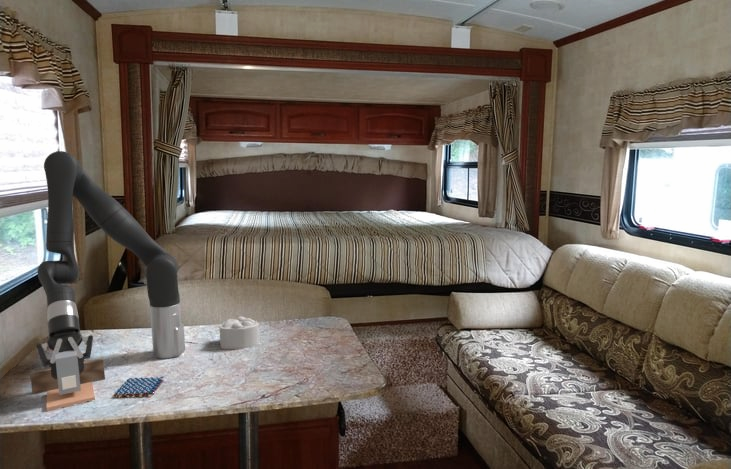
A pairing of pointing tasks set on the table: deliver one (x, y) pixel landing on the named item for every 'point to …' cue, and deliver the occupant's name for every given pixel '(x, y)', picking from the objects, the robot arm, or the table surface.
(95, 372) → the walnut screen
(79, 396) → the terracotta tile
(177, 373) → the table surface
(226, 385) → the table surface
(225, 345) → the lumpy-topped squat cylinder
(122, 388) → the woven mat
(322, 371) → the table surface
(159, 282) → the robot arm
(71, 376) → the plain grey block
